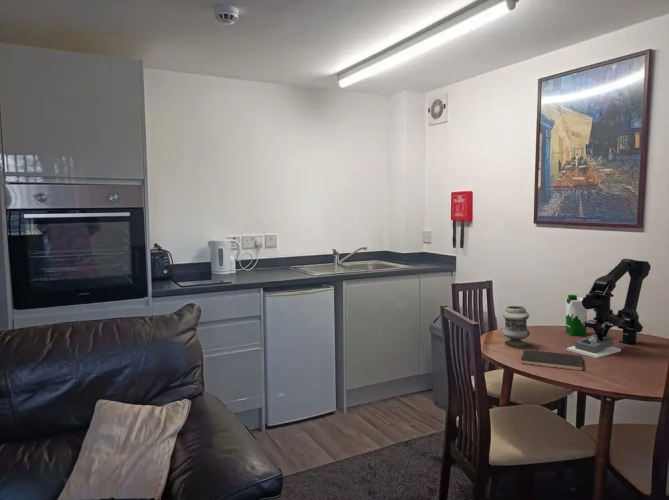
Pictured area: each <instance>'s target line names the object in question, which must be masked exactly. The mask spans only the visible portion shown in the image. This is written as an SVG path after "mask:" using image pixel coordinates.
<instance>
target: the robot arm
mask: <svg viewBox="0 0 669 500" xmlns="http://www.w3.org/2000/svg"><path fill="white" fill-rule="evenodd" d="M651 267H652V266H651V264H650V263H649V261H647V260H634V259H632V258H621V259H620V262H618V264H617V265H615V267H614V268H613V269H611V270H610V271H609V272H608V273H607V274H605V275H602V276H600V277H598V278H596V279H595V280H594V282H593V284H592V286H591V287H590V289H589V291H588V293H586V294H585V296H584V297H583V298H582V299H583V300H582V305H583V307H584V308H585V309H587V310H593V312H595V317H593V319H587V321H585V322H584V326H585V327H586V328H588V329H592V330H593V331H594V333H595V335H597V337H598V339H599V341H602V340H603V337H607V335H608V333H609V331H610V330H611V329H612V328H613V327H615V328H616V327H617V328H618V329H621V330H622V339H621V340H618V342H619V343H622V344H625V345H626V344H627V345H631V346H634V345H638V344H641V341H638V333H641V332H642V331H643V328H644V326H643V325H642V324H641V322H640V319H639V318H640V316H639V314H638V311H637V308H638V304H639V299H640V294H641V289H642V286H643V281H644V279H646V278H647V277H648V275H649V273H650V272H651V271H650V270H651V269H652V268H651ZM627 272H628V275H629V277H630V278H629V279H630V280H629V284H628V288H627V292H626V297H625V302H624V307H622V309H621V310H620V309H619V310H617V313H616V314H615V313H614V311H613V309H611V298H613V297H614V294H613V293H612V292H614V290H615V288H617V282H618V281H620V279H621V278H622V277H624V275H625V274H627Z"/></svg>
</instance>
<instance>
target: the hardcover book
mask: <svg viewBox="0 0 669 500" xmlns="http://www.w3.org/2000/svg"><path fill="white" fill-rule="evenodd" d="M520 361H521V364H523V363H525V365H531V364H533V366H539V365H541V366H540V367H547V368H548V367H549V368H550V367H551V368H556V367H557V368H558V369H567V370H575V371H583V370H584V369H583V368H584V363H583V361H584V360H583V354H580V355H579V354H572V353H571V354H570V353H563V352H552V351H543V350H542V351H541V350H533V349H524V350H523V353H522V355H521V358H520Z"/></svg>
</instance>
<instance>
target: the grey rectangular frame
mask: <svg viewBox="0 0 669 500" xmlns="http://www.w3.org/2000/svg"><path fill="white" fill-rule="evenodd" d="M591 337H597V335H596V334H591V335H589V336H585V337H584V338H582V339H581V338H580V339H579V340H577V341H575V342H574V346H575V348H576V349H579V350H583V351H587V352H591V353H597V352H599V351H601V350H604V349H606V348H608V347H614V338H612V337H607V336H606V337H603V340H602V341H599V339H598V337H597V344H595V345H590V344H591V342H589V341H588V340H589V339H591Z"/></svg>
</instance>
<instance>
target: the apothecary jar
mask: <svg viewBox="0 0 669 500" xmlns="http://www.w3.org/2000/svg"><path fill="white" fill-rule="evenodd" d="M502 317H503V319H504V324H505V326H504V328H503V329H502V334H503V336H504V337H506V338H507V339H508V340H506V341H504V344H505V345H506V344H507V346H508V345H510V346H509V347H513V346H517V347H516V348H524V347H526V346H527V345H528V344H527V342H525V341H523V340H525V339H527V338H528V337H529V336H530V334H531V333H530V330H529V328H527V327H528V326H527V325H528V324H527V320H528V319H529V318H530V314H529V313H528V312H527V310H526V307H525V306H523V305H508V306H506V307H505V310H504V311H503V312H502ZM523 346H524V347H523Z"/></svg>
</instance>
